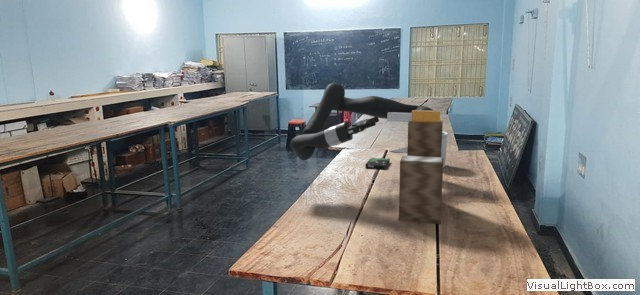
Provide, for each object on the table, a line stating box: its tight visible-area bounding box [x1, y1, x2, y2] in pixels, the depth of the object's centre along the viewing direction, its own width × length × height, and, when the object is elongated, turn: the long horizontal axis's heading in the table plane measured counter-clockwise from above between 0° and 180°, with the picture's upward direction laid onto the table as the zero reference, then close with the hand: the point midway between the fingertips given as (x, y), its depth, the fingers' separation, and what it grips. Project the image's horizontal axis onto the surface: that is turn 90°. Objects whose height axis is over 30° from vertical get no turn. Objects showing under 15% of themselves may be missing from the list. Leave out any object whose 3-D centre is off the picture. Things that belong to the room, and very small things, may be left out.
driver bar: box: [386, 109, 441, 123], centre depth 156 cm, size 19×4×4 cm, turn 73°
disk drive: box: [365, 157, 391, 170], centre depth 219 cm, size 10×3×15 cm
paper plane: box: [390, 146, 408, 154], centre depth 253 cm, size 26×28×4 cm
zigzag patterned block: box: [398, 119, 444, 225], centre depth 151 cm, size 14×23×32 cm, turn 163°
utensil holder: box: [441, 130, 449, 169], centre depth 214 cm, size 15×15×18 cm
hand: (376, 120), depth 159 cm, fingers open, 8 cm apart
